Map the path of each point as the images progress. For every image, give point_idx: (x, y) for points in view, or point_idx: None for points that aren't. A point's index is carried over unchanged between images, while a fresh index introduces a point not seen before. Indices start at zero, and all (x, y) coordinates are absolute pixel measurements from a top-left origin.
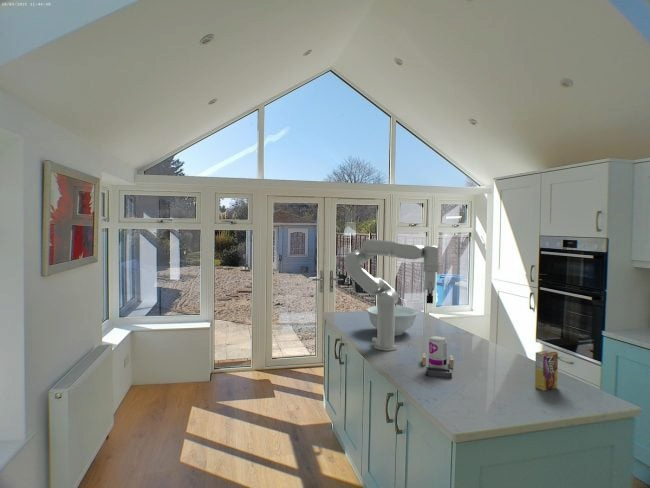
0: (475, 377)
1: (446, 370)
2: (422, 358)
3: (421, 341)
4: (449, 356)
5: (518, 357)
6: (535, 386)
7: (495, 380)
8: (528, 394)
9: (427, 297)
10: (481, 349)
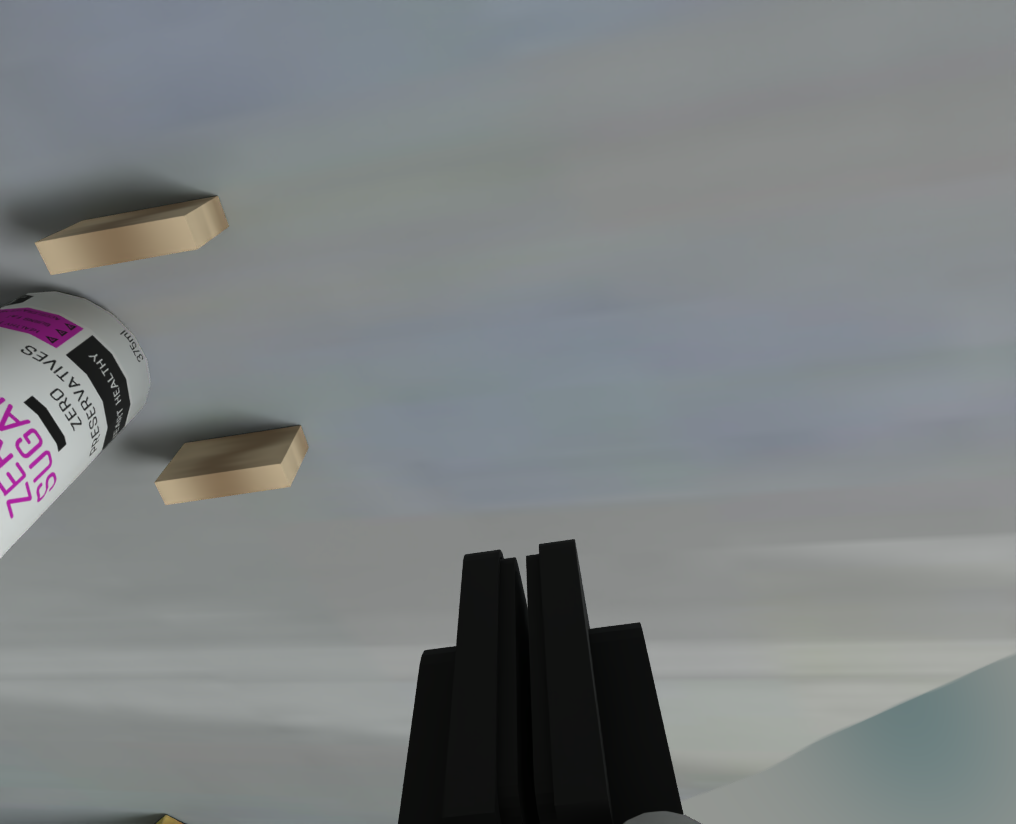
0: (103, 595)
1: None
2: (107, 224)
3: (1012, 37)
4: (277, 459)
5: (690, 776)
6: (161, 820)
7: (135, 682)
8: (39, 790)
9: (456, 753)
10: (823, 602)
